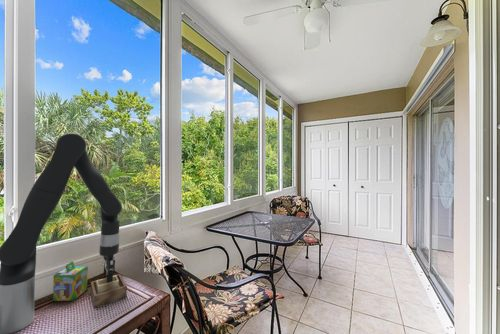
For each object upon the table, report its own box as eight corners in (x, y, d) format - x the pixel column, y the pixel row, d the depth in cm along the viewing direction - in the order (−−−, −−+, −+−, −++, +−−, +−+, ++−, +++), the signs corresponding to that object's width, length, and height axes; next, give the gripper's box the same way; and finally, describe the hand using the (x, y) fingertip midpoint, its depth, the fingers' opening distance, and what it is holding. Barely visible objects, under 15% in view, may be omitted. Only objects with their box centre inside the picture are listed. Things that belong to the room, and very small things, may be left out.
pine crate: (97, 299, 95) (97, 286, 95) (95, 293, 100) (96, 280, 100) (118, 293, 101) (118, 280, 101) (115, 287, 105) (116, 275, 105)
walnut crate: (94, 307, 91) (94, 296, 91) (90, 292, 102) (90, 281, 102) (126, 297, 99) (126, 286, 99) (119, 283, 110) (120, 274, 110)
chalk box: (74, 301, 95) (75, 267, 95) (51, 301, 94) (52, 267, 94) (88, 289, 104) (89, 258, 104) (67, 289, 104) (68, 258, 104)
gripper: (97, 240, 103) (95, 274, 103) (102, 249, 93) (100, 287, 93) (115, 237, 108) (114, 269, 108) (122, 245, 98) (120, 282, 98)
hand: (107, 278), depth 100 cm, fingers open, 8 cm apart
